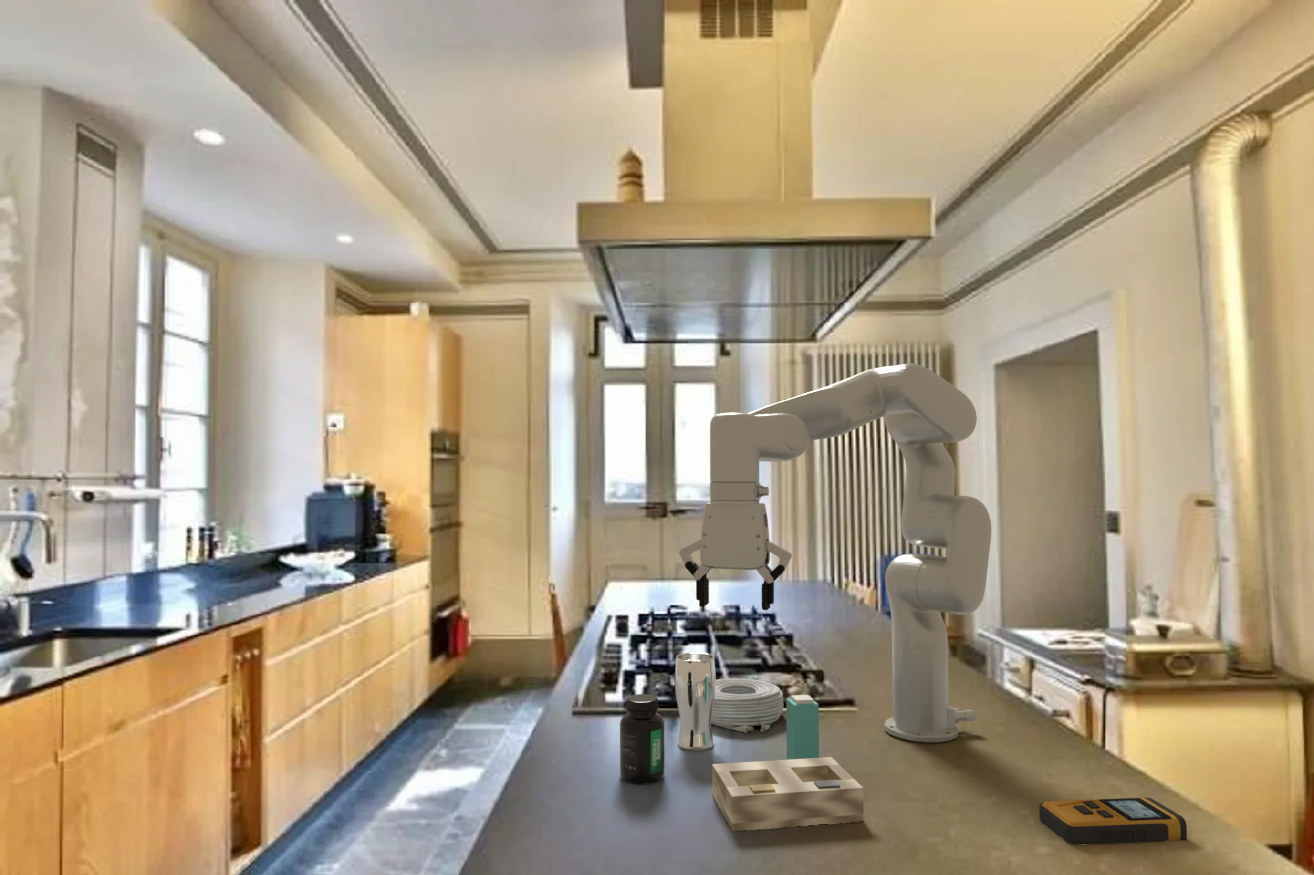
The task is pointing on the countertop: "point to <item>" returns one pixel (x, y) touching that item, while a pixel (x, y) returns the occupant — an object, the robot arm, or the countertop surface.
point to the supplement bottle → (642, 741)
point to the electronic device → (1112, 821)
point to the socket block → (786, 793)
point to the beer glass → (695, 699)
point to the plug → (802, 727)
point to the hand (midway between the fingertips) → (734, 607)
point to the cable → (746, 704)
